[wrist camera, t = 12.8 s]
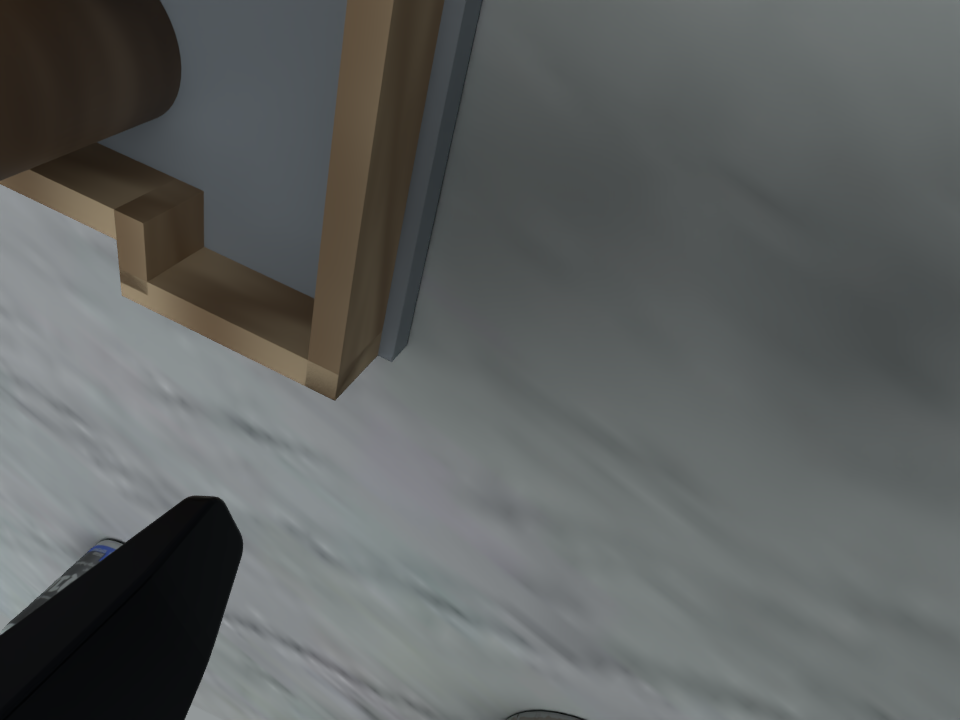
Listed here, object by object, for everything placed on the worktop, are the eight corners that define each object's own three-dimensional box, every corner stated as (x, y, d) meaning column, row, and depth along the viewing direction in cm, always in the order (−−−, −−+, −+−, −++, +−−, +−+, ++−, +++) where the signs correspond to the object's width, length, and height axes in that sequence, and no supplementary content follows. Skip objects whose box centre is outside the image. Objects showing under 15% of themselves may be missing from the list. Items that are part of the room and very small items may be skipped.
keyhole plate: (507, -120, 16) (436, -113, 13) (406, 345, 24) (349, 408, 21) (-28, -304, 18) (-180, -328, 16) (46, 176, 26) (-45, 213, 24)
